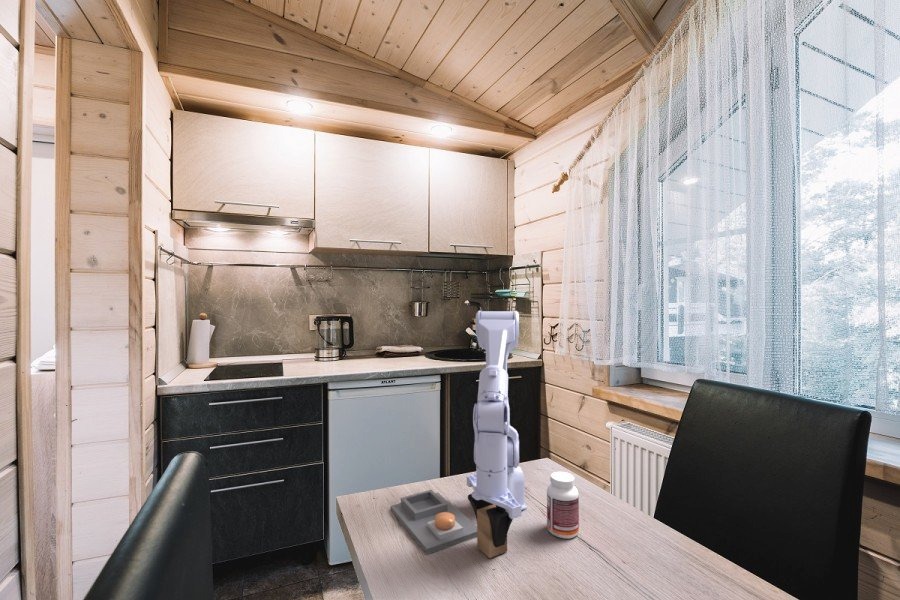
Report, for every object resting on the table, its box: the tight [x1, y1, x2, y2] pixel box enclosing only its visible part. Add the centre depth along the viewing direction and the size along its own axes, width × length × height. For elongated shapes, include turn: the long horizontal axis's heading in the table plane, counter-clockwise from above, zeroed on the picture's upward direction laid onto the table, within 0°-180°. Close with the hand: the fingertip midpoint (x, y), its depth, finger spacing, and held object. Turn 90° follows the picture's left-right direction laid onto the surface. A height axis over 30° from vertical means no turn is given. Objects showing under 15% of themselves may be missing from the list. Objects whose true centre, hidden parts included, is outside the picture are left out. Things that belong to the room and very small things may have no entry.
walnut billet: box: [476, 504, 508, 559], centre depth 76 cm, size 4×4×7 cm
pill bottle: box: [546, 471, 580, 540], centre depth 83 cm, size 6×6×11 cm
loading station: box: [389, 489, 477, 555], centre depth 86 cm, size 12×18×2 cm, turn 30°
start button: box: [435, 512, 455, 529], centre depth 82 cm, size 4×4×1 cm
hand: (492, 538), depth 77 cm, fingers closed on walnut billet, 4 cm apart
